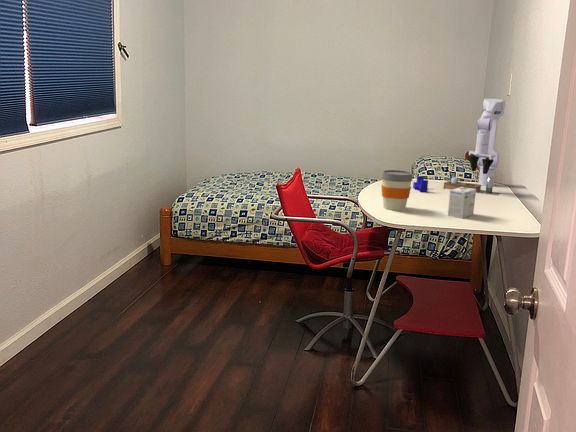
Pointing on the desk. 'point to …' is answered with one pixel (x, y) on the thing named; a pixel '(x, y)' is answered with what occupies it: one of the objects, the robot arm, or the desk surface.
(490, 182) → the steel pin
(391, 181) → the reusable coffee cup
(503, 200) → the desk surface
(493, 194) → the rubber mat
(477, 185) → the walnut hole block
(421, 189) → the blue stepped block
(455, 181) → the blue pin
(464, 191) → the light bulb box
